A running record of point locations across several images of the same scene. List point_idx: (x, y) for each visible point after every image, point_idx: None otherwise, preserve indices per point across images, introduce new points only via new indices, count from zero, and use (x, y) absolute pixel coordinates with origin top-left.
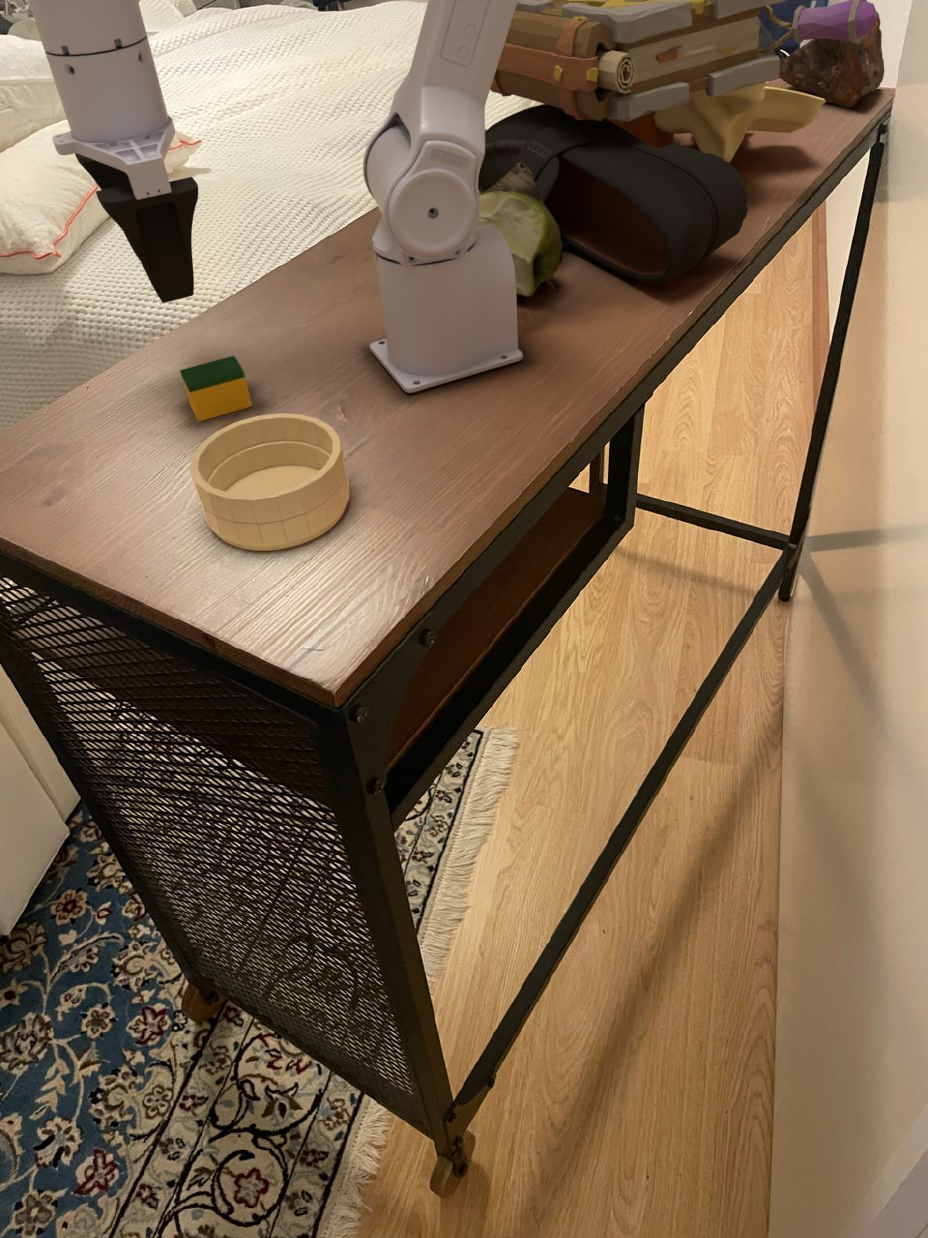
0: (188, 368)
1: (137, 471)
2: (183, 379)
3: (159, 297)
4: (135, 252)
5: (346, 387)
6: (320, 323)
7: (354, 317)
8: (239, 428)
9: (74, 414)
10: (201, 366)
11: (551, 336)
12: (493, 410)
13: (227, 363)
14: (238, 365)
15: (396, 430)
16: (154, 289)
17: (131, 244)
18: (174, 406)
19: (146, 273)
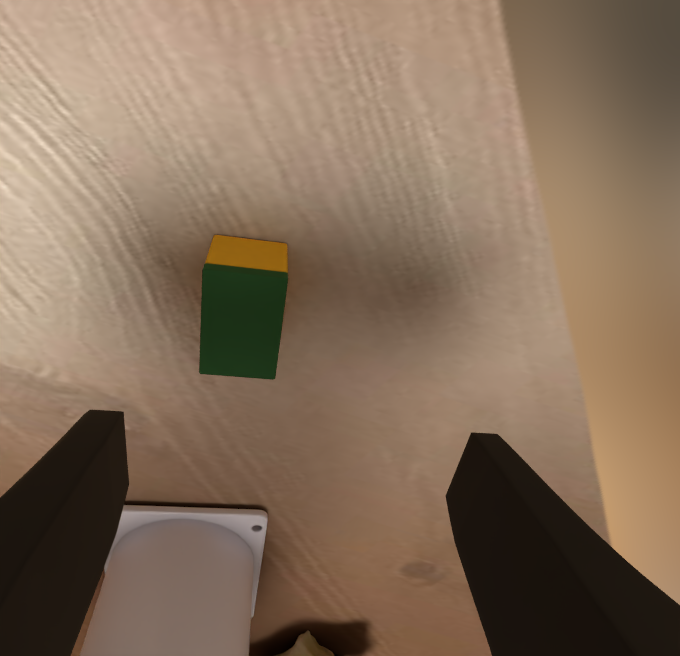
0: (280, 295)
1: (83, 47)
2: (260, 270)
3: (83, 418)
4: (479, 448)
5: (181, 453)
6: (400, 486)
7: (378, 521)
8: None
9: (438, 3)
10: (271, 318)
11: None
12: None
13: (250, 360)
14: (225, 373)
15: (11, 461)
16: (66, 435)
17: (492, 466)
18: (308, 215)
19: (29, 479)
